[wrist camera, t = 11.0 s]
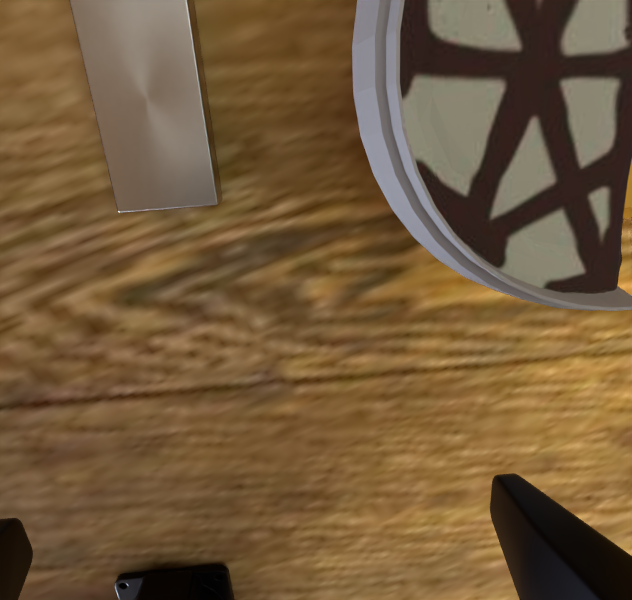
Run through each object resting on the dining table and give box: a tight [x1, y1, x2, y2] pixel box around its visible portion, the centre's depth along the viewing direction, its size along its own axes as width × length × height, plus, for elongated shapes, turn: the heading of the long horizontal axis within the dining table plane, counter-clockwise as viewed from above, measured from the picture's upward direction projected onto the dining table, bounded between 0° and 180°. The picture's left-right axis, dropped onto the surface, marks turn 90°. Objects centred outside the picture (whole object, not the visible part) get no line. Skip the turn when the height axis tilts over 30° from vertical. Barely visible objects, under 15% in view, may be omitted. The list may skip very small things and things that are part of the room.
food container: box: [352, 0, 632, 311], centre depth 13 cm, size 12×6×10 cm, turn 8°
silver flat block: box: [69, 0, 222, 213], centre depth 17 cm, size 8×4×1 cm, turn 4°
